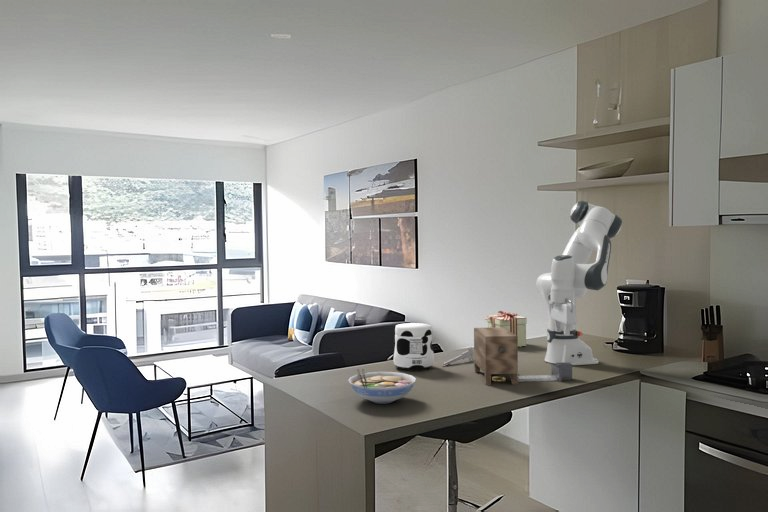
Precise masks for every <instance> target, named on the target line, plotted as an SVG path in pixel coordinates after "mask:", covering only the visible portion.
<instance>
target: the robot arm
mask: <svg viewBox="0 0 768 512" xmlns="http://www.w3.org/2000/svg"><path fill="white" fill-rule="evenodd" d="M569 217H570V220H571V221H572V222H573V223H574V224H576V225H579V226H578V228H577V229H576V230H575V231H574V233H573V234H571V237H570V238H569V240H568V242H567V243H566V246H565V248H564V250H563V252H562V254H561V255H557V256H555V257H553V258H552V260H551V261H552V262H551V268H550V272H546V273H541V274H540V275H539V276H538V277H537V279H536V282H535V287H536V289H537V291H538V293H540V295H541V296H542V298H543V301H544V303H545V305H546V311H547V324H548V325H547V326H548V328H547V330H546V339H547V340H546V341H547V347H546V353H545V356H544V361H545V362H547V363H548V364H549V363H550V364H555V365H556V363H565V362H569V363H571V364H572V366H581V365H584V366H585V365H596V364H597V365H598V364H599V359H597V358H596V357H594V355H593V350H592V348H591V347H590V346H589V345H588V344H586V343H585V342H584V341H583V340H582V339H580V338H579V337H582V336H583V332H582V331H580V330H577V329H575V325H576V323H577V309H576V305H575V300H576V299H580V298H583V297H584V296H586V294H587V292H588V290H592V291H599V290H601V289H602V288H604V287H605V286H606V284H607V283H608V275H609V274H608V272H609V264H610V258H611V253H612V252H611V251H612V240H611V239H612V238H615V237H616V236H617V235H618V234H619V233H620V232H621V230H622V225H623V219H622V218H621V217H620V216H618V214H614V213H612V212H611V211H610V210H609V209H608V208H606V207H604V206H598V205H595V204H592V203H589V202H588V201H584V200H580V201H578V202H576V203H575V204H574V205H573V206H572V208H571V210H570V215H569ZM593 251H596V257H595V262H592V263H588V261H589V260H590V258H591V255H592V254H593Z"/></svg>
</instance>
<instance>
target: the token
mask: <svg viewBox="0 0 768 512" xmlns="http://www.w3.org/2000/svg"><path fill="white" fill-rule="evenodd" d="M492 380H493V382H496V381H497V383H498V382H500V383H502V381H503V382H505V381H506V377H504V376H499V375H498V376H496V375H495V376H491V381H492Z"/></svg>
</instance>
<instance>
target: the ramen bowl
mask: <svg viewBox="0 0 768 512" xmlns="http://www.w3.org/2000/svg"><path fill="white" fill-rule="evenodd" d="M356 372H357V374H355V375H353V376H351V377H349V379H347V381H348V383H349V385H350V386H351V388H352V390H353V391H354V392H355V393H356V394H357V396H359V397H360V398H362V399H365V400H367V401H370V402H371V403H374V404H377V405H378V404H379V405H381V404H383V405H385V404H391V403H393V402H394V401H397V400H401V399H402V398H404V397H406V396H407V395H408V394H409V393H410V392H411V390H412V389H413V388H414V385H415V383H416V381H417V378H416V377H415V376H413V375H412V374H411V375H410V374H407V373H403V372H397V371H396V372H395V371H394V372H393V371H372V372H365V369H364V368H363V369H361V371H360V369H359V368H358V369H356ZM361 372H362V373H361Z"/></svg>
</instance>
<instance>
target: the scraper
mask: <svg viewBox="0 0 768 512" xmlns="http://www.w3.org/2000/svg"><path fill="white" fill-rule="evenodd" d="M550 364H551V371H550V372H551V373H550V374H551V375H550V374H545V375H544V374H540V375H536V374H535V375H532V374H531V375H518V383H519V382H554V381H555V382H556V381H557V382H559V383H562V382H563V381H573V365H572V364H571V363H569V362H565V363H556V364H555V363H550Z"/></svg>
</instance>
